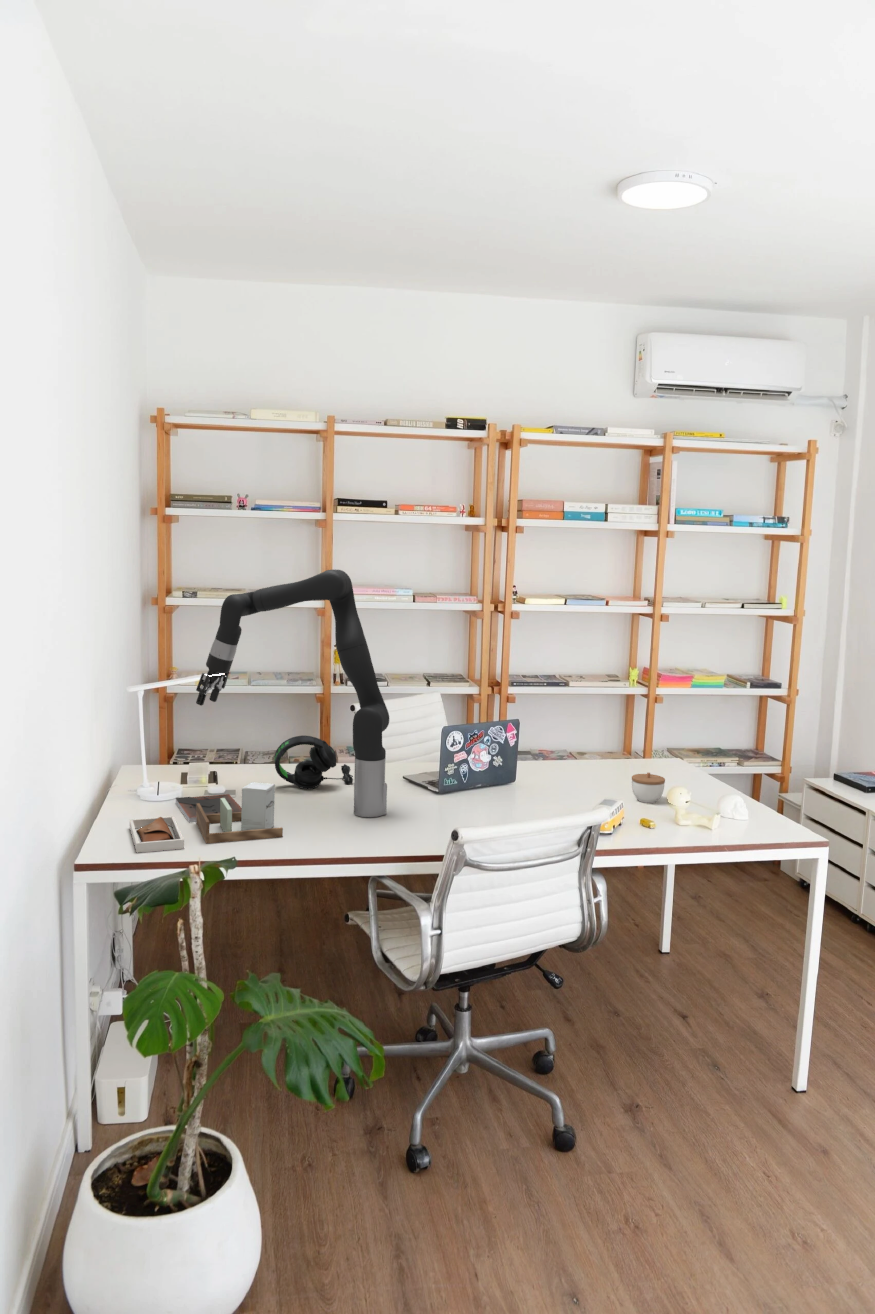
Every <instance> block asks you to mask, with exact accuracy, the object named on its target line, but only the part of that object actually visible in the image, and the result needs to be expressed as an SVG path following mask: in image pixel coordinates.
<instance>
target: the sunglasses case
mask: <svg viewBox="0 0 875 1314" xmlns="http://www.w3.org/2000/svg"><path fill="white" fill-rule="evenodd" d="M158 817H159V818H158ZM158 817H156V818H157V819H156V820H155V821H154V822H152V823H150V824H148V825H146V826H144V827H142V828H137V829H136V831H137V832H136V833H137V835H139V836H138V837H139V838H140V841H141V842H150V841H162V840H174V839H175V838H174V836H173V833H172V831H171V829H170V826H168V825H167V823H166V822H165V821H164V819H163V818H162V817H163V816H158Z"/></svg>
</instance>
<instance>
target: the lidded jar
mask: <svg viewBox="0 0 875 1314" xmlns="http://www.w3.org/2000/svg"><path fill="white" fill-rule="evenodd" d="M665 783H666V779H665V777H664V776H661V775H657V774H652V773H651V772H646V773H636V774H633V775H632V776H631V789H632V794H633V796H634V797H635V798H636V799H637V801H639V803H644V804H646V803H647V804H656V803H657V801H658V800H659V799H660V798H661V797H662V795H663V793H664V790H665Z"/></svg>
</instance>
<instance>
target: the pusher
mask: <svg viewBox="0 0 875 1314" xmlns="http://www.w3.org/2000/svg"><path fill="white" fill-rule="evenodd" d="M219 825H220V828H221V827H222V828H221V829H222V831H223V832H232V831H233V822H232V809H231V807H230V805H229V804H228V802H227V801H226V799H225V798H220V823H219Z"/></svg>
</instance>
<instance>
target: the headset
mask: <svg viewBox="0 0 875 1314" xmlns="http://www.w3.org/2000/svg"><path fill="white" fill-rule="evenodd" d="M300 745H301V746H303V745H305V746H306V745H307V746H308V745H309V746H313V747H310V749H309V751H308V752H309V758H310V759H306V760H303V761H300V762H298V764H296V766H295V768H294V773H290V772H289V771H287V770H286V769H284V767H283V766H282V765H281V763H280V762H281V759H282V757H283V756H284V755H285V754H286V753H287V751H289V750H290V749H292V748H294V747H296V746H300ZM273 758H274V759H273V760H274V761H273V762H274V768H275V771H276V773H277V774H278V776H279V777H280V778H282V779H283V780H284V781H286V782H288V783H290V784H293V785H295V786H296V787H298V788H299V789H303V790H311V789H312V788H313V789H315V788H318V787H319V786H320V785H321V783H322V782H324V780H343V783H345V785H350V784H352V783H353V782H354V776H353V775H352V774H350V772H351V766H350V765H348V764H346V763H345V764H343V765H340V767H341V773H342V775H343V776H342V777H340V778H339V777H337V778H335V777H324V775H323V773H326V772H328V771H329V770H330V769H331V768H332V769H333V768H335V767H337V754H336V751H335V749H334V747H332V746H331V745H329V744H328V743H327V742H326V741H325V740H323V739H321V738H318V737H315V736H311V735H297V736H293V737H289V738H287V739H286V740H284V741H283V742H282V743H281V744H280V745H279V746H278V747H277V748H276V751H275V752H274V755H273ZM313 789H312V790H313Z"/></svg>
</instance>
